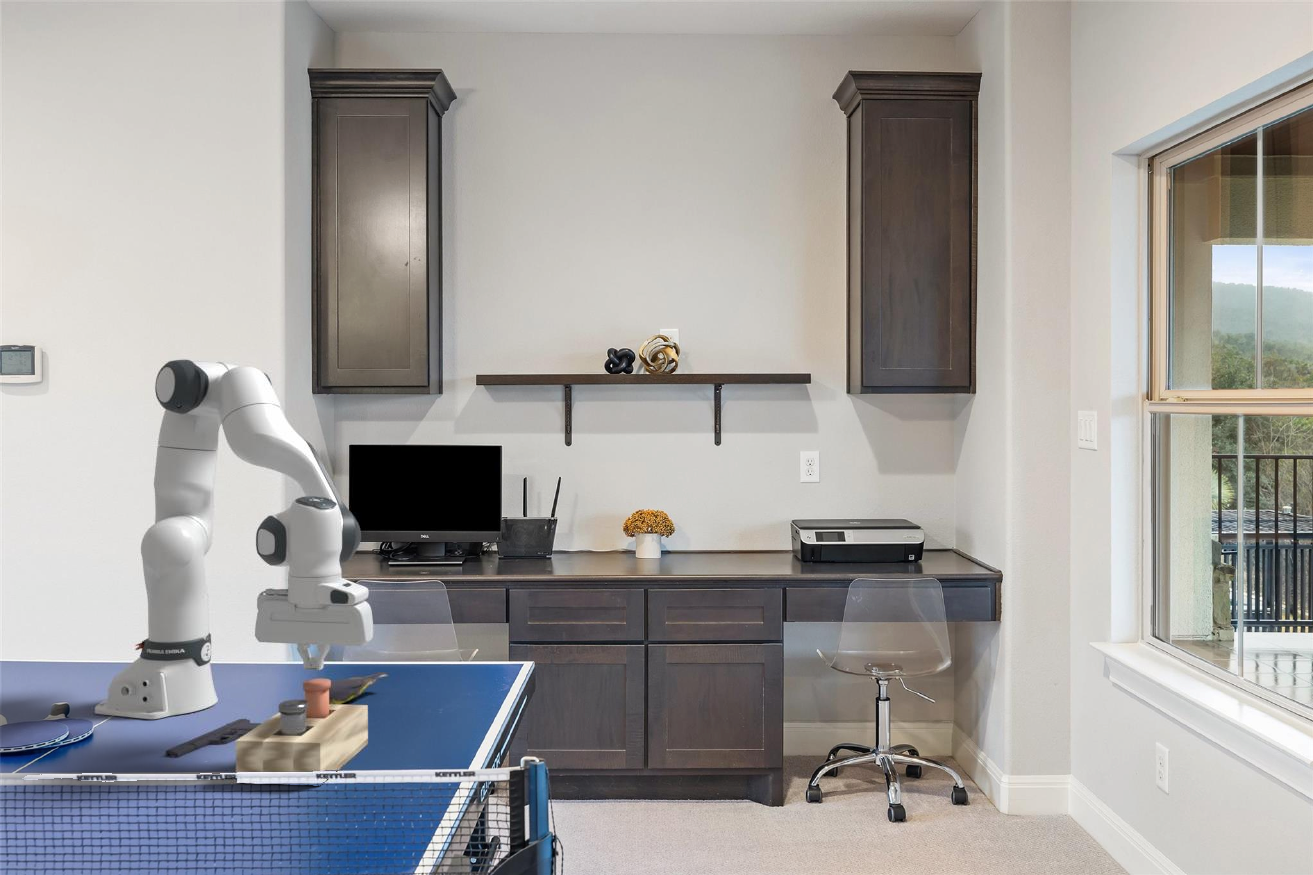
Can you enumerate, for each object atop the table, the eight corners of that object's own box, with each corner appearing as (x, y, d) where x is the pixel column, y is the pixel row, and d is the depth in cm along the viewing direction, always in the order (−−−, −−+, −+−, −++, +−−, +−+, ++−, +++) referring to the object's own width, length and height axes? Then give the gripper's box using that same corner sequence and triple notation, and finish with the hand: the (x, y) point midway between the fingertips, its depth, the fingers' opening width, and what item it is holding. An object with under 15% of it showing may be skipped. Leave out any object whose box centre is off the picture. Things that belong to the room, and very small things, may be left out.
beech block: (236, 783, 152) (235, 740, 152) (293, 741, 172) (292, 703, 172) (320, 786, 151) (320, 742, 151) (367, 743, 171) (367, 705, 171)
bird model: (296, 711, 189) (296, 687, 189) (377, 689, 205) (377, 666, 205) (311, 716, 186) (311, 691, 186) (392, 693, 202) (392, 670, 202)
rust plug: (298, 742, 164) (298, 685, 163) (310, 734, 168) (309, 678, 168) (324, 743, 163) (324, 686, 163) (335, 734, 168) (335, 678, 168)
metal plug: (273, 768, 155) (273, 707, 154) (286, 758, 159) (286, 699, 159) (300, 768, 154) (300, 708, 154) (313, 758, 159) (312, 699, 159)
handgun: (288, 733, 178) (237, 726, 182) (288, 721, 178) (236, 715, 181) (217, 767, 161) (162, 759, 165) (217, 754, 161) (162, 747, 165)
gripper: (248, 591, 163) (247, 670, 163) (363, 595, 161) (361, 676, 161) (266, 584, 169) (265, 661, 169) (377, 589, 167) (376, 666, 168)
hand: (313, 668), depth 165 cm, fingers closed
